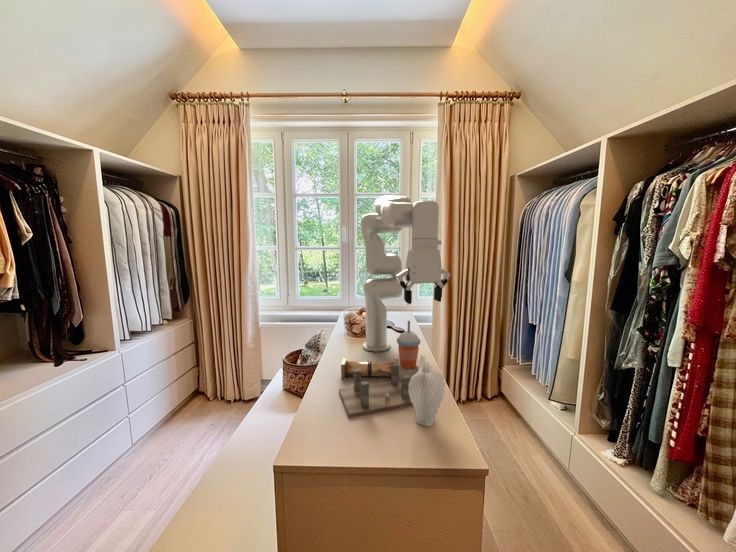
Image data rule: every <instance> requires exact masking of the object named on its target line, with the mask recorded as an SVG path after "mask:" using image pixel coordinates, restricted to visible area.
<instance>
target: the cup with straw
mask: <svg viewBox="0 0 736 552" xmlns="http://www.w3.org/2000/svg"><path fill="white" fill-rule="evenodd" d="M396 343H397V344H398V346H397V347H398V349H397V350H398V358H399V366H401V367H402V368H403V369H413V368H416V366H417V361H418V356H419V345H420V344H421V339H420V338H419V336H418V334H417V333H416V332H414V331H411V321H410V320H407V330H406V331H403V332H401V333H400V335H399V336H398V337H397V339H396Z"/></svg>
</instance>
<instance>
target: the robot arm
mask: <svg viewBox="0 0 736 552" xmlns="http://www.w3.org/2000/svg"><path fill="white" fill-rule="evenodd" d="M439 208H440V207H439V204H438V202H437V201H434V200H419V201H415V202H412V201H411V199H410V198H409V197H408V196H405V195H403V196H402V195H383V196H380V197H379V198H378V199H376V200H375V203H374V210H375V212H371V213H366V214H364V215H362V217H361V220H360V230H361V235H362V237H363V241H364V246H365V267H366V272H367V274H368V275H370V276H389V277H380V278H379V277H378V278H369V279H367V280H365V282H364V284H363V295H364V304H365V341H364V342H363V343H362V349H364V350H366V351H369V352H374V353H375V352H378V353H379V352H384V351H387V350H389V349H390V348H391V344H390V342H388V340H387V338H388V336H387V334H388V332H387V330H388V328H387V327H388V321H387V318H388V311H387V309H388V308H387V306H386V305H385V304H384V302H382V300H393V299H399V298H400V297H402V296H403V300H404V302H405V303H407V304H408V305H411V304H412V302H413V301H412V300H413V299H412V298H413V297H412V293H413V291H412V290H411V288H413V286H414V285H415V284H416V285H419V284H421V285H422V284H434V285H435V286H434V288H433V290H434V291H433V300H435V301H436V302H439V303H441V302H442V299H443V298H442V297H443V289H444V287H445V286H446V284H447V283H449V281H448V280H449V279H450V276H451V273H450V272H448V271H447V270H445V269H443V268H442V257H441V251H440V249H439V246H440V245H442V240H439V216H440V215H439ZM404 228H411V249H408V252H407V255H406V261H405V262H406V263H405V268H404V269H403V265H402V260H401V257H400V256H399V255H398V254H396V253H386V251H385V247H386V246H385V242H384V240H383V238H382V237H381V236H380V235H379V234H397V233H400V232H401V231H402V230H403V229H404ZM442 276H443V277H442ZM404 279H405V282H404ZM402 294H403V295H402Z"/></svg>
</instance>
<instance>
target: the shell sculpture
mask: <svg viewBox="0 0 736 552" xmlns="http://www.w3.org/2000/svg"><path fill="white" fill-rule="evenodd" d="M426 358H427V357H426V355H423V354H420V359H419V366H418V367H419V368H418V370H417V372H416V373H415V374H413V375H412V376H411V377H410V382H409V384H408V385H409V389H408V392H409V396H410V399H411V402H412V404H413V406H412V407H413V408H414V409H415V410H414V411H415V416H414V423H416V424H419V425H421V426H425V427H431V426H432V425H433V423H434V421H435V418H436V415H437V414H438V412H439V411H438V410H439V409H440V405H441V402H442V401H443V398H444V395H445V387H446V382H445V376H444V374H442V373H441V372H439V371H437V370H435V369H434V368H432V366H431V365H430V363H429V361H427V359H426Z"/></svg>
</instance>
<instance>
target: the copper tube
mask: <svg viewBox="0 0 736 552" xmlns="http://www.w3.org/2000/svg"><path fill="white" fill-rule="evenodd" d="M393 360H394V361H370V360H369V361H360V360H359V361H356V360H355V361H354V360H353V361H350V360H349V361H348V360H347V357H342V361H341V365H340V370H341V371H340V374H341V375H340V376H341V379H340V380H345V379H346V376H347V377H348V376H350V377H352V376H353V377H354V369H360V370H361V377H384V378H385V377H387V378H389V377H390V378H391V364H396V363H397V364H398V365H399V361H398V360H399V359H397V358H394V359H393Z"/></svg>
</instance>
